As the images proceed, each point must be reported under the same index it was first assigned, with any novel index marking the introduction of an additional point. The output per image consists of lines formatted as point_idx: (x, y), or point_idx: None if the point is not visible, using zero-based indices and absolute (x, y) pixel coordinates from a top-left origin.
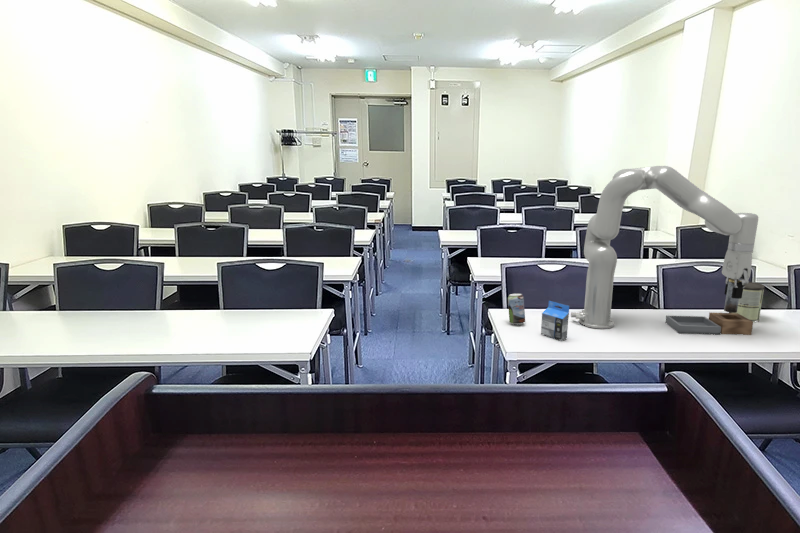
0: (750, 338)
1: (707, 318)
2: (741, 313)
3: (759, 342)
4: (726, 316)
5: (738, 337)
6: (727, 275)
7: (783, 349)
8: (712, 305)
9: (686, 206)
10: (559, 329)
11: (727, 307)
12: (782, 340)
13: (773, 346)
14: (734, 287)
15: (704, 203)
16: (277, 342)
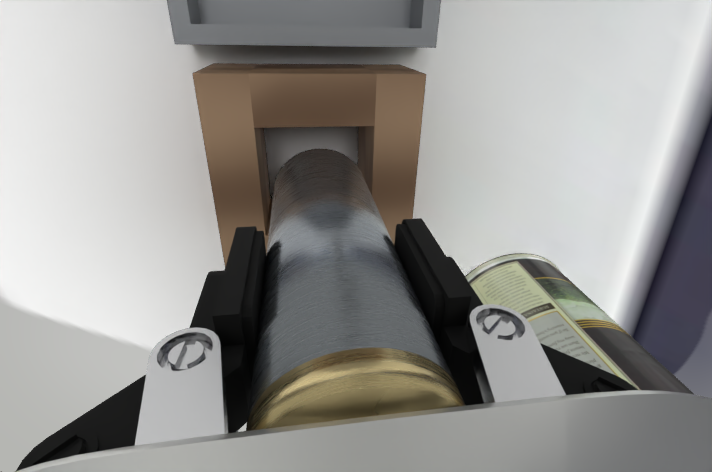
0: (171, 201)
1: (388, 44)
2: (482, 302)
3: (108, 216)
4: (370, 177)
5: (169, 142)
6: (413, 450)
7: (26, 278)
8: (705, 258)
9: None
10: None
11: (296, 168)
12: (186, 327)
13: (60, 254)
14: (232, 331)
15: None
16: None
